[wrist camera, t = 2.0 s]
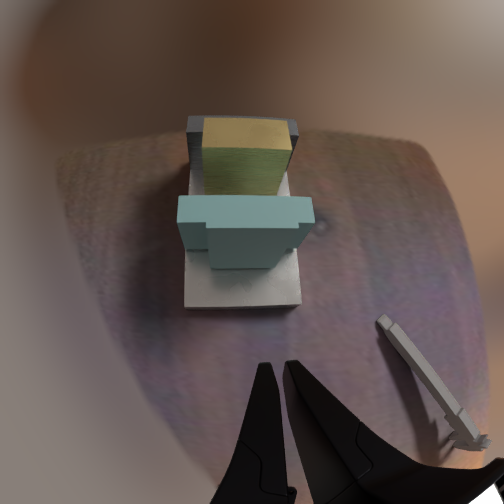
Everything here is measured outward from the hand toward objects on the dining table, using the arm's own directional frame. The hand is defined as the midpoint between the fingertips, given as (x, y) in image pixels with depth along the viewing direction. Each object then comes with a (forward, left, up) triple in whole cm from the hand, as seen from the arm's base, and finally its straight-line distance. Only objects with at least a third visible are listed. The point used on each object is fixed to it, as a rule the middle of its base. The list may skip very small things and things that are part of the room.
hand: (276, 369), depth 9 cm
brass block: (+14, +3, -11) cm, 18 cm away
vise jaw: (+9, +2, -11) cm, 14 cm away
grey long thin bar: (-3, -19, -13) cm, 23 cm away
